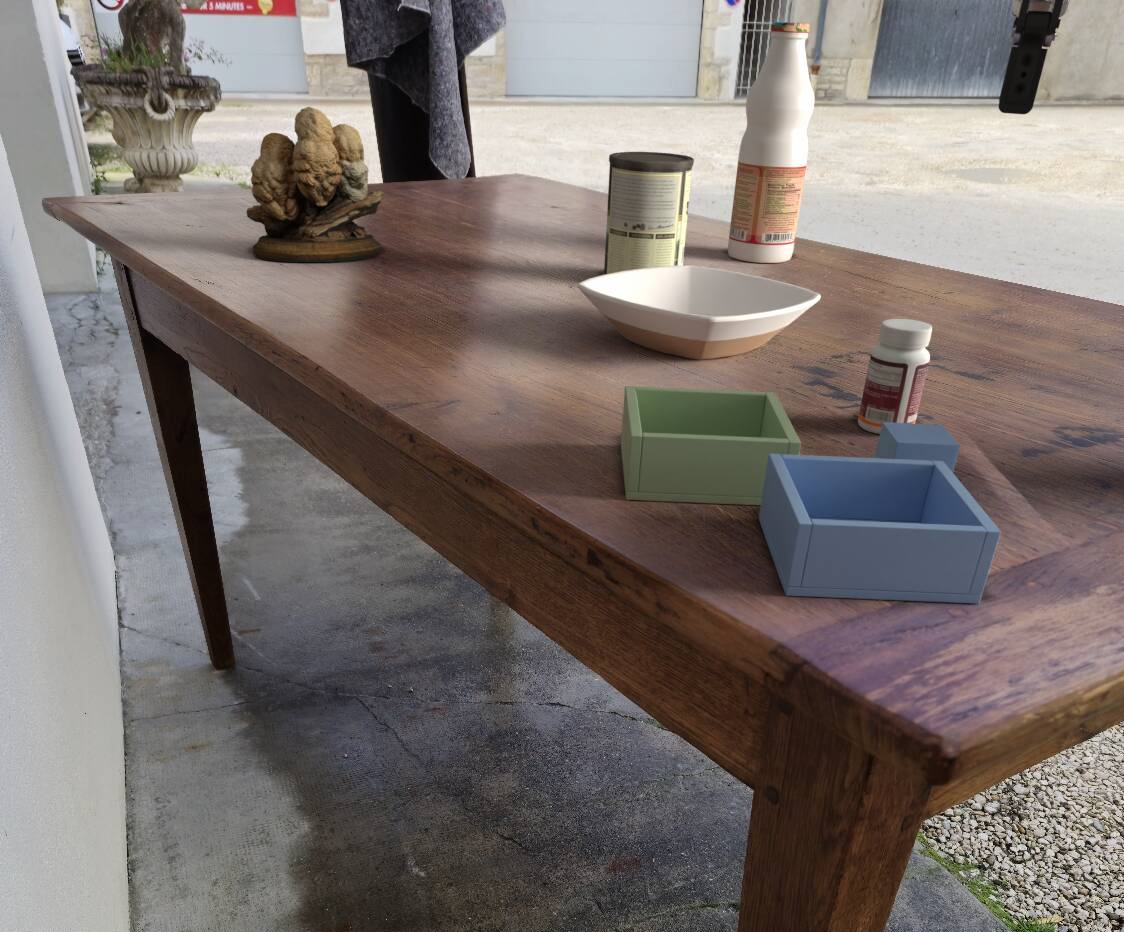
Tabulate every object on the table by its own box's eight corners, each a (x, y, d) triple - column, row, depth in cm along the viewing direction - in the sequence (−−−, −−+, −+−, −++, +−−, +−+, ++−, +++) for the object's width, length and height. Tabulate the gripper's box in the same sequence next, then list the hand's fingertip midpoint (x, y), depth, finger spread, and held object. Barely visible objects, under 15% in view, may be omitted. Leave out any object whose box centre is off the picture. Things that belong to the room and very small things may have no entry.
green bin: (766, 450, 83) (775, 392, 80) (790, 507, 73) (801, 442, 71) (620, 444, 83) (624, 385, 80) (626, 500, 73) (630, 435, 70)
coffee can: (591, 273, 137) (597, 150, 129) (663, 272, 140) (674, 151, 131) (618, 290, 129) (627, 161, 121) (694, 288, 132) (708, 161, 124)
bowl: (838, 348, 110) (847, 295, 107) (708, 383, 97) (715, 324, 94) (681, 308, 122) (686, 260, 119) (549, 335, 110) (550, 282, 107)
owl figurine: (376, 244, 148) (368, 103, 138) (397, 260, 139) (390, 111, 129) (246, 248, 142) (228, 101, 132) (260, 265, 133) (241, 109, 123)
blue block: (927, 482, 78) (942, 424, 76) (944, 505, 75) (960, 444, 72) (869, 480, 78) (882, 421, 76) (883, 502, 75) (897, 442, 72)
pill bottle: (897, 417, 91) (919, 316, 86) (923, 435, 87) (948, 331, 82) (846, 419, 90) (867, 317, 85) (871, 437, 86) (894, 332, 82)
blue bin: (926, 526, 71) (943, 460, 69) (979, 604, 62) (1001, 531, 59) (758, 519, 71) (768, 453, 69) (785, 596, 62) (798, 523, 59)
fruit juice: (716, 258, 149) (743, 20, 133) (741, 249, 156) (770, 21, 140) (777, 267, 146) (813, 23, 129) (801, 257, 152) (837, 24, 136)
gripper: (1168, -216, 58) (1074, 120, 68) (1142, -176, 69) (1064, 108, 79) (1027, -215, 60) (954, 112, 70) (1024, -176, 71) (961, 101, 81)
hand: (1013, 110), depth 74 cm, fingers open, 8 cm apart
